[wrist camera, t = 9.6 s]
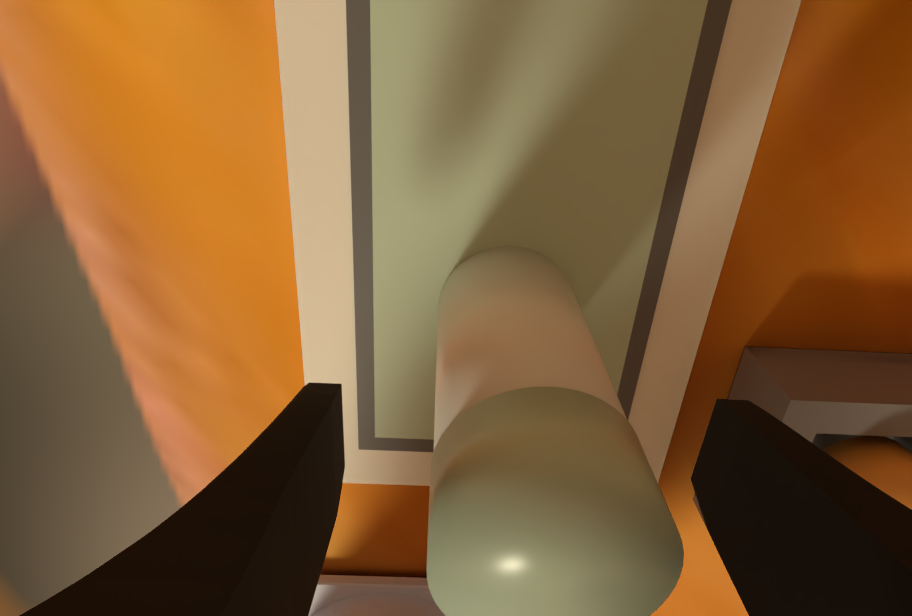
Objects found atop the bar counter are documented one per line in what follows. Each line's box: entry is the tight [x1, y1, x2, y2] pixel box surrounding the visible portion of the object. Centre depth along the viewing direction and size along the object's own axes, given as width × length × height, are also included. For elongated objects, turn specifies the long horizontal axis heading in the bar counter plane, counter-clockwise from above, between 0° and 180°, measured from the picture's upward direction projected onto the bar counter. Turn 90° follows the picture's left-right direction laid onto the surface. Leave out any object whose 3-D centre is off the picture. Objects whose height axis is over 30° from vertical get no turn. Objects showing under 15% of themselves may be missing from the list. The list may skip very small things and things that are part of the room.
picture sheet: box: [274, 0, 801, 486], centre depth 14 cm, size 18×11×1 cm, turn 177°
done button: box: [823, 436, 912, 510], centre depth 15 cm, size 3×3×2 cm
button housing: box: [693, 347, 912, 534], centre depth 17 cm, size 6×6×2 cm
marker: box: [427, 247, 684, 616], centre depth 12 cm, size 4×4×8 cm
